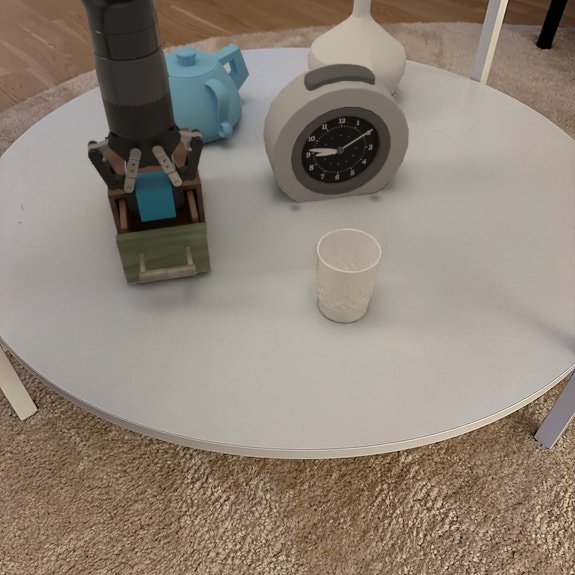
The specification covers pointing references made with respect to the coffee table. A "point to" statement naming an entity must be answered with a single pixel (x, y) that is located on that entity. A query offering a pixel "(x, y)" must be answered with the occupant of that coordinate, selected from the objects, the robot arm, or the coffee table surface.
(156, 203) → the blue block
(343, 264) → the white cup
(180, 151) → the cabinet
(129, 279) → the drawer
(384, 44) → the vase
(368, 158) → the alarm clock
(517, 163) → the coffee table surface
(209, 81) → the teapot
